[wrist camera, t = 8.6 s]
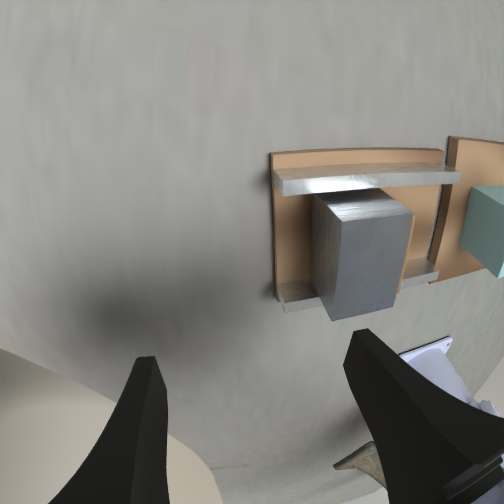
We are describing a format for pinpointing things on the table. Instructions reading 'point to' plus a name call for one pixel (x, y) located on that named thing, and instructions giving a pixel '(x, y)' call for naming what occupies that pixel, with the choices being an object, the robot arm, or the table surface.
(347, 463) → the embossing press
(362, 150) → the frame
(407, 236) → the block
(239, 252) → the table surface
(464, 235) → the block
